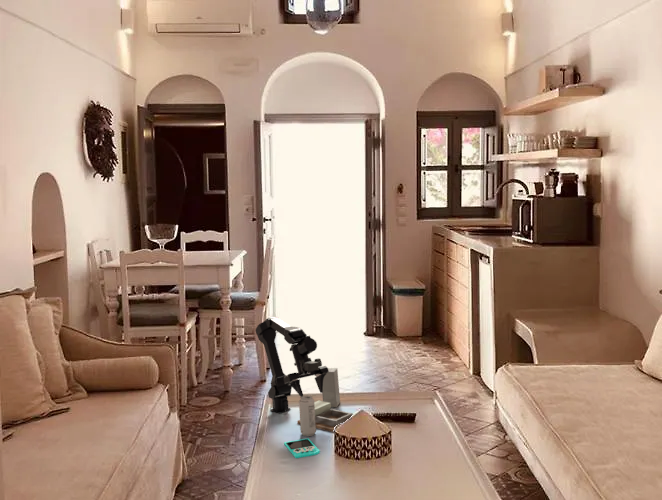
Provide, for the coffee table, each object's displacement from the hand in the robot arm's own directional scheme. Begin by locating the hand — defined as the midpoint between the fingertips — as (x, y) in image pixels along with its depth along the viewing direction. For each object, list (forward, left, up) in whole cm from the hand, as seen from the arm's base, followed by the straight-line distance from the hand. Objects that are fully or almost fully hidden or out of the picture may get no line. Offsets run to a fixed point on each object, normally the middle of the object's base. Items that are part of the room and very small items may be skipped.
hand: (312, 395), depth 298 cm
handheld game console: (+12, -21, -14) cm, 28 cm away
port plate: (+2, +7, -13) cm, 15 cm away
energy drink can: (+4, -8, -13) cm, 16 cm away
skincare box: (-12, +26, -13) cm, 31 cm away
